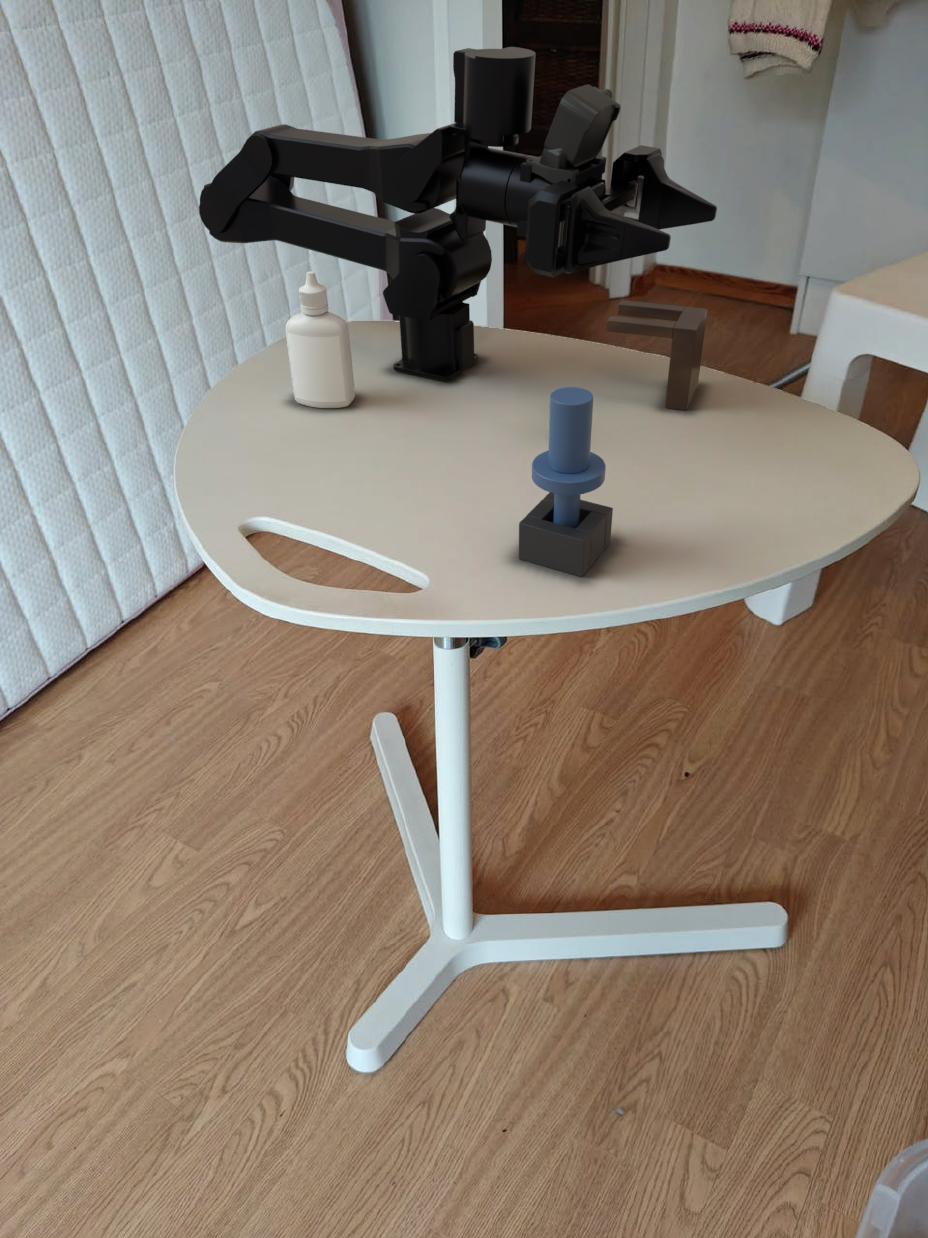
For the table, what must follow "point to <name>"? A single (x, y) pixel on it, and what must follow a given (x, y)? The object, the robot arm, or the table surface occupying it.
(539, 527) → the holder
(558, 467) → the peg
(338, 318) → the eye dropper bottle
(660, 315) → the stand
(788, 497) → the table surface
